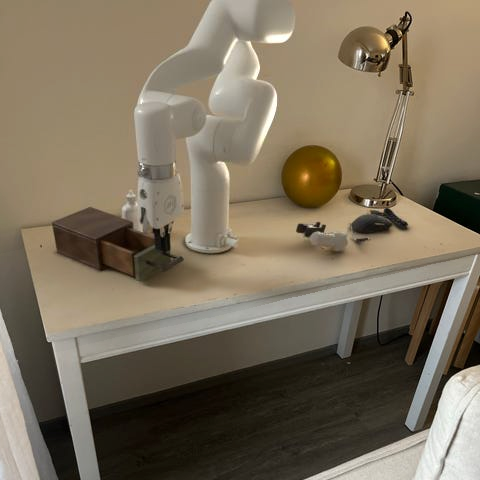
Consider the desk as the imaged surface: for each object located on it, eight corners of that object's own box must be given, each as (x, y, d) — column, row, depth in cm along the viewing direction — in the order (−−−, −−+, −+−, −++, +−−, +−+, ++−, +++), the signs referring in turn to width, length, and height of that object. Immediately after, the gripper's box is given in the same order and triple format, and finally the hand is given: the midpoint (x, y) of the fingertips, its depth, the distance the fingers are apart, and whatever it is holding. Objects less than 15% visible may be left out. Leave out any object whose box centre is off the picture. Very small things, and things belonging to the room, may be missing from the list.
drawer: (190, 270, 118) (189, 246, 115) (159, 290, 111) (158, 265, 107) (129, 247, 126) (126, 224, 123) (96, 264, 119) (93, 239, 115)
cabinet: (135, 251, 127) (133, 221, 122) (99, 270, 118) (95, 239, 113) (93, 235, 133) (90, 206, 128) (57, 252, 124) (51, 222, 120)
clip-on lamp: (347, 242, 143) (292, 235, 136) (354, 220, 141) (298, 212, 133) (370, 257, 134) (312, 251, 126) (378, 234, 131) (319, 227, 124)
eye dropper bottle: (145, 236, 134) (142, 192, 127) (124, 237, 133) (120, 194, 126) (143, 229, 137) (141, 186, 130) (122, 230, 136) (118, 187, 129)
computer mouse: (336, 217, 150) (338, 204, 148) (387, 212, 155) (390, 200, 153) (356, 234, 141) (358, 221, 138) (410, 229, 145) (413, 216, 143)
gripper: (147, 184, 95) (153, 268, 106) (195, 162, 105) (196, 241, 116) (117, 175, 98) (127, 257, 109) (167, 155, 109) (171, 232, 120)
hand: (163, 249), depth 113 cm, fingers closed
